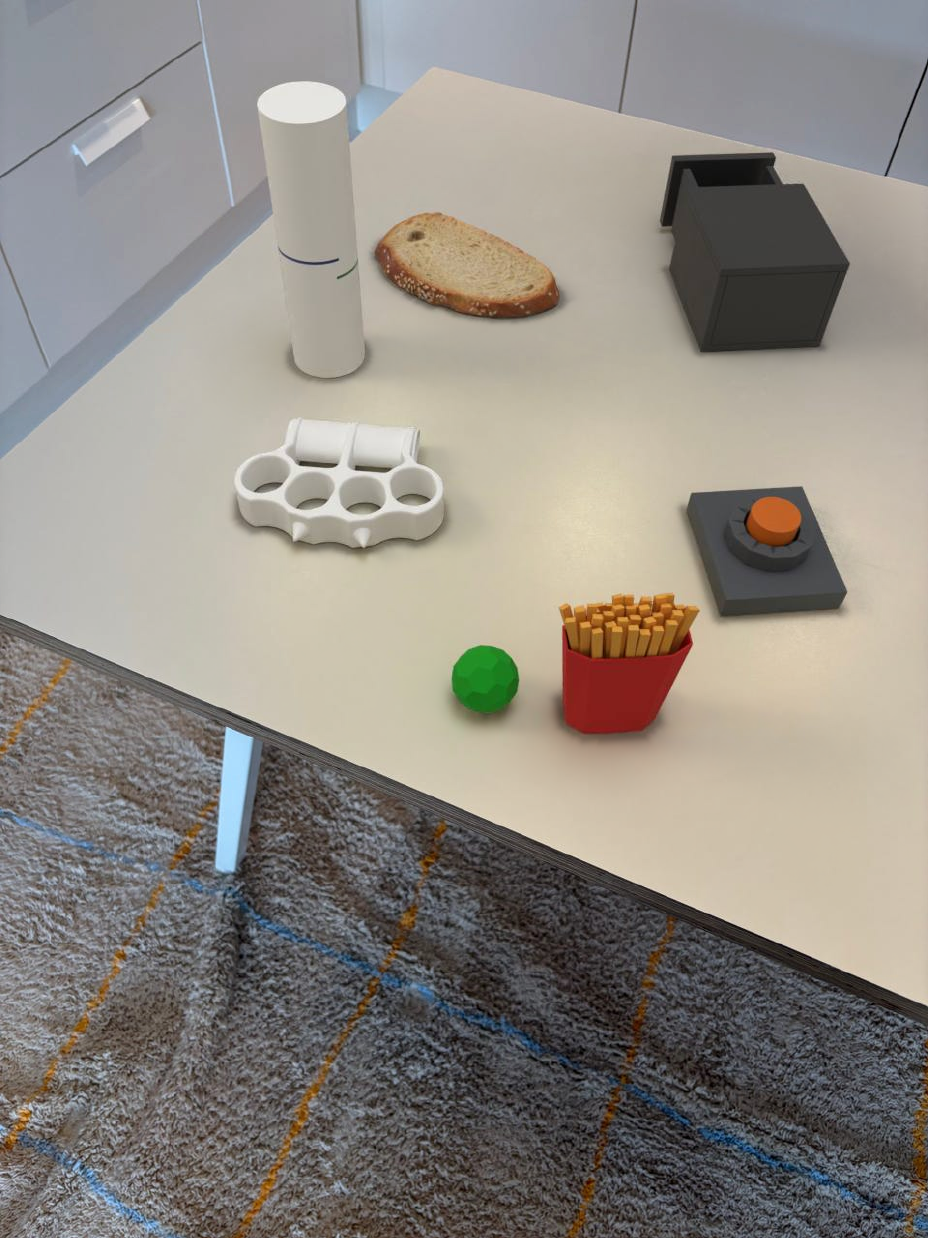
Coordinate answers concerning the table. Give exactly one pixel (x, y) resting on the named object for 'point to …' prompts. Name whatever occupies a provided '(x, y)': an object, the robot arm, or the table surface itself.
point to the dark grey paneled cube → (756, 267)
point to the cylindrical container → (314, 223)
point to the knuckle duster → (342, 484)
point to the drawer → (713, 177)
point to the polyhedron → (485, 679)
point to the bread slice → (465, 268)
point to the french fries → (622, 660)
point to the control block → (763, 556)
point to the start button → (773, 521)
